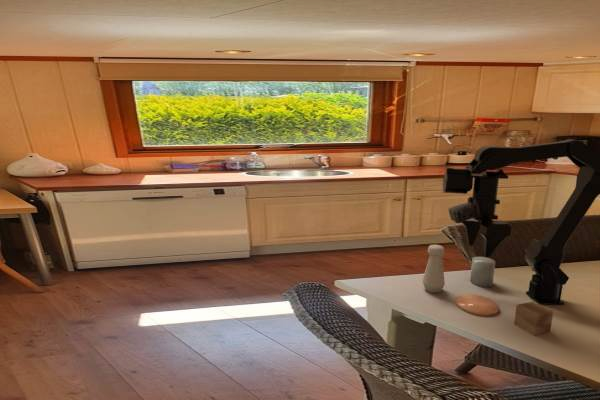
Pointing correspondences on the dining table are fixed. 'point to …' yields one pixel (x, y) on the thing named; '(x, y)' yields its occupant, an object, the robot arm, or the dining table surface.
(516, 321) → the walnut block
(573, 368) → the dining table surface
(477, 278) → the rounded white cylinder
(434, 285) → the salt shaker
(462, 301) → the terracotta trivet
